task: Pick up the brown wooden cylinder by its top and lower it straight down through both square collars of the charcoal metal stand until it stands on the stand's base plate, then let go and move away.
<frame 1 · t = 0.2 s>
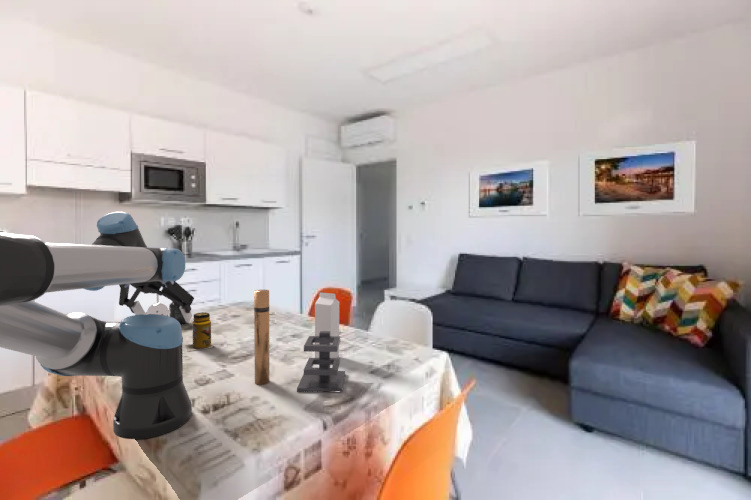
hand: (166, 319, 111), 16 cm above the table, tool tilted 35°, fingers open, 13 cm apart
supplement bottle: (178, 323, 163), on the table
cup with straw: (158, 339, 141), on the table
brown wooden cylinder: (262, 381, 104), on the table
milk: (326, 358, 124), on the table
condiment: (199, 347, 133), on the table
collar stand: (322, 382, 105), on the table
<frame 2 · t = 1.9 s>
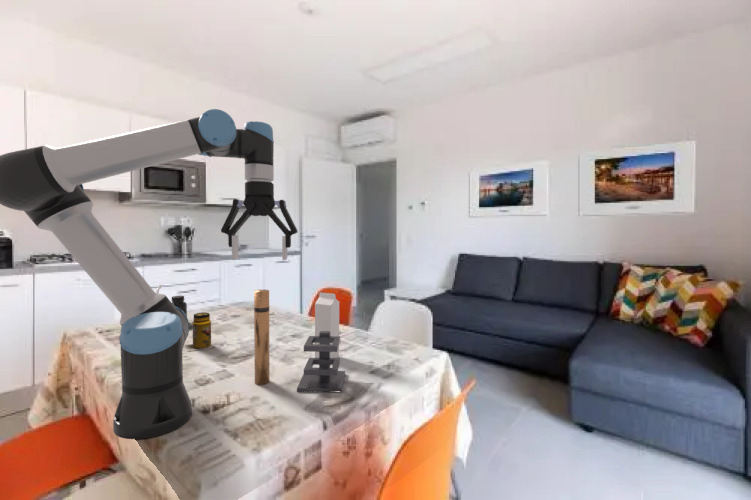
hand: (260, 259, 102), 35 cm above the table, tool pointing down, fingers open, 13 cm apart
nothing on the table moved.
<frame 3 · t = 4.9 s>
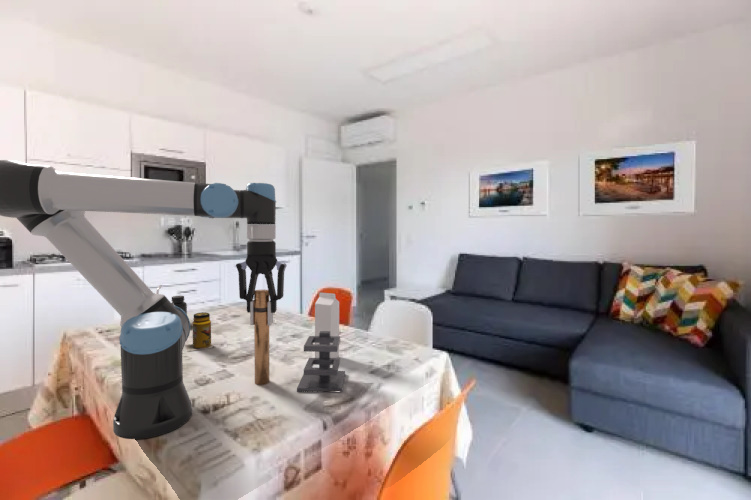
hand: (261, 323, 103), 17 cm above the table, tool pointing down, fingers closed on brown wooden cylinder, 4 cm apart
brown wooden cylinder: (262, 381, 104), on the table, touching gripper
everything else where it was.
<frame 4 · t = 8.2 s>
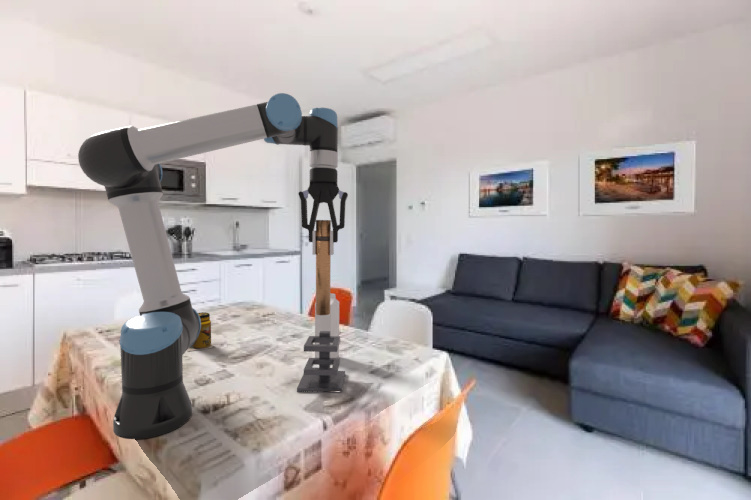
hand: (323, 254, 102), 36 cm above the table, tool pointing down, fingers closed on brown wooden cylinder, 4 cm apart
brown wooden cylinder: (323, 313, 103), point 20 cm above the table, touching gripper
everything else where it was.
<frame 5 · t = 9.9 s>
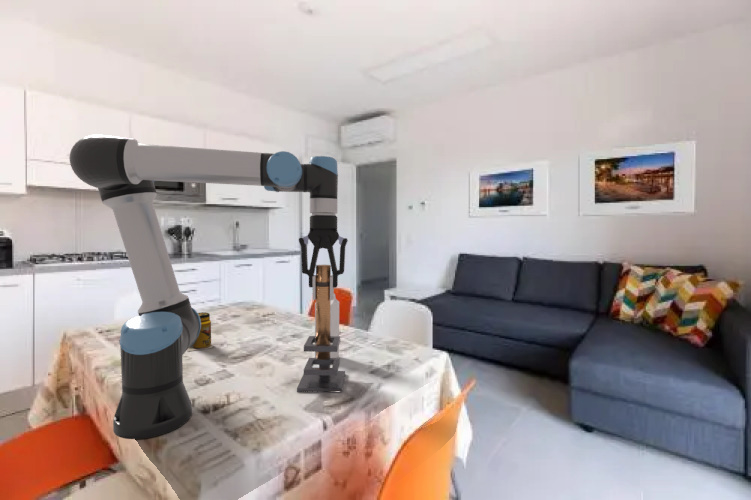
hand: (323, 298, 103), 24 cm above the table, tool pointing down, fingers closed on brown wooden cylinder, 4 cm apart
brown wooden cylinder: (322, 357, 104), point 7 cm above the table, touching gripper
everything else where it was.
when the fingers open (19 cm above the table, at t = 11.6 s): brown wooden cylinder stays where it is, resting on collar stand.
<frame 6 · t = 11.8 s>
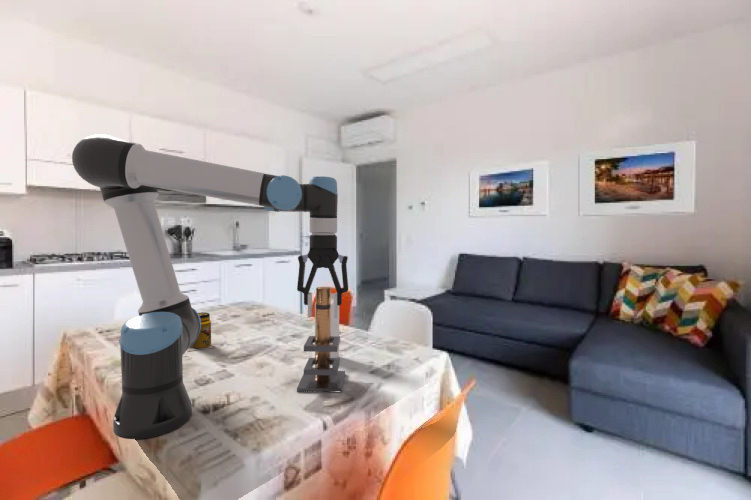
hand: (322, 316, 103), 19 cm above the table, tool pointing down, fingers open, 7 cm apart
brown wooden cylinder: (322, 379, 105), point 1 cm above the table, touching collar stand
everything else where it was.
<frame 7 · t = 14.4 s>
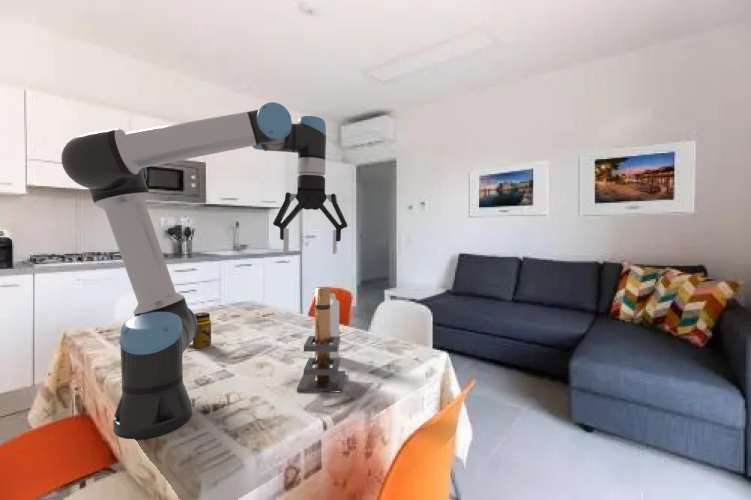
hand: (310, 252, 103), 37 cm above the table, tool pointing down, fingers open, 13 cm apart
nothing on the table moved.
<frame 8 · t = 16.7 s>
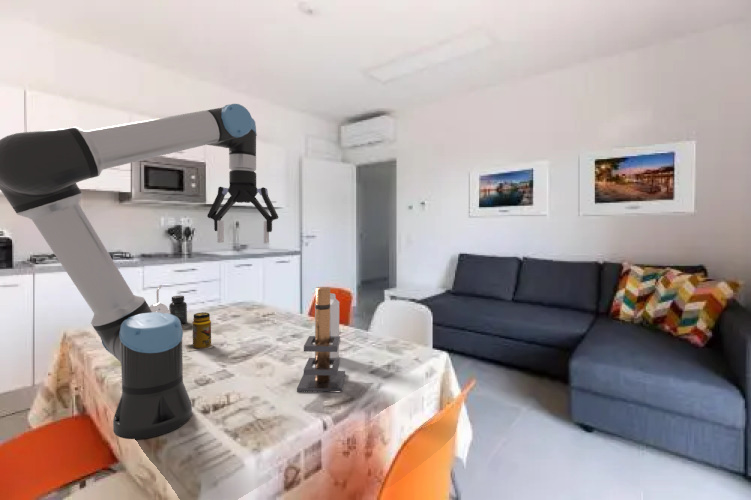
hand: (243, 242, 111), 39 cm above the table, tool pointing down, fingers open, 13 cm apart
nothing on the table moved.
at the end: brown wooden cylinder 0.0 cm off-centre on the collar stand, point 1.0 cm above the collar stand's base; brown wooden cylinder tilted 0°; the gripper is holding nothing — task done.
